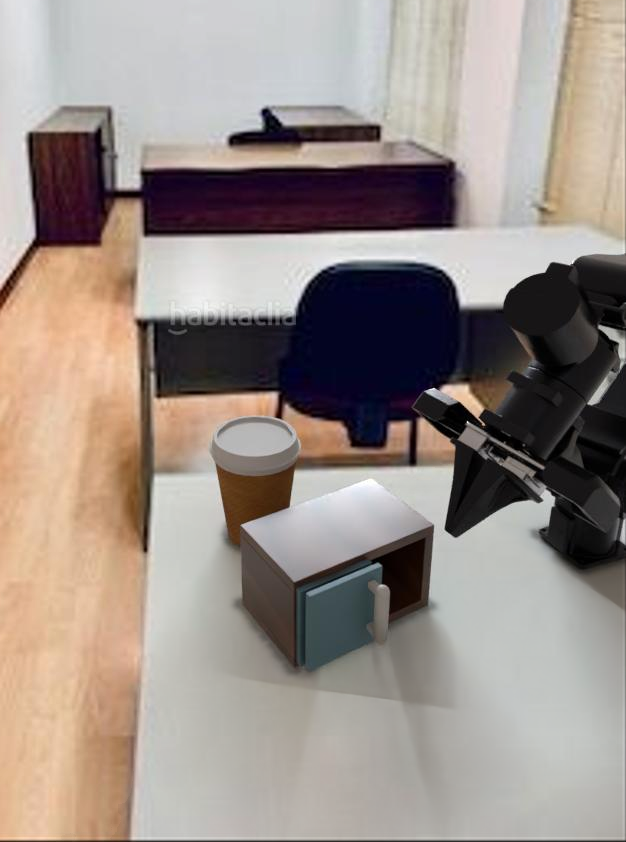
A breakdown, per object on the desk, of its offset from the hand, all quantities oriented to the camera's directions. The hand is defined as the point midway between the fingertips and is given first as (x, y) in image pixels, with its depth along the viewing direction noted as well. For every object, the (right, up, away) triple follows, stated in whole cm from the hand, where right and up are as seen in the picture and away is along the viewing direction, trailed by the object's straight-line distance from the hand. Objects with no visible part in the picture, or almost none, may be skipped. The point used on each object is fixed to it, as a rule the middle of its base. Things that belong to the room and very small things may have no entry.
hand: (449, 534), depth 65 cm
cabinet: (-9, -9, +7) cm, 14 cm away
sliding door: (-9, -11, 0) cm, 14 cm away
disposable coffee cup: (-16, -5, +18) cm, 24 cm away
